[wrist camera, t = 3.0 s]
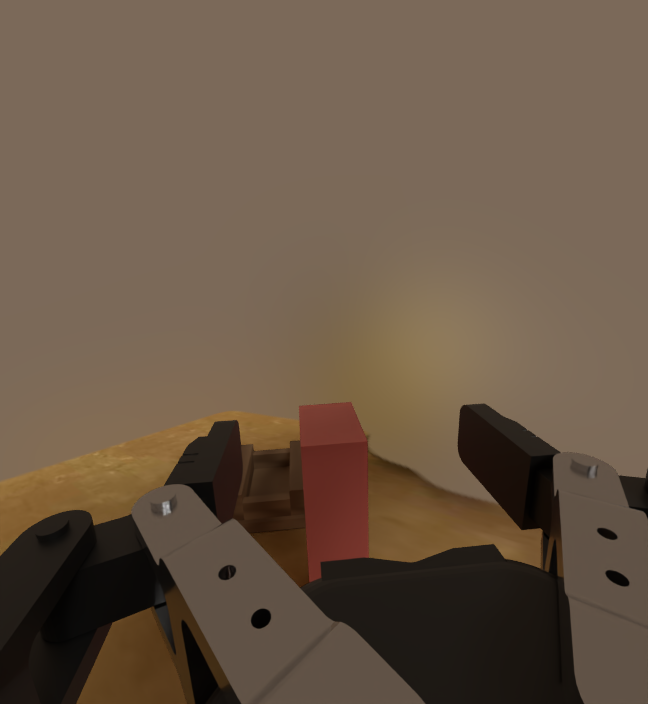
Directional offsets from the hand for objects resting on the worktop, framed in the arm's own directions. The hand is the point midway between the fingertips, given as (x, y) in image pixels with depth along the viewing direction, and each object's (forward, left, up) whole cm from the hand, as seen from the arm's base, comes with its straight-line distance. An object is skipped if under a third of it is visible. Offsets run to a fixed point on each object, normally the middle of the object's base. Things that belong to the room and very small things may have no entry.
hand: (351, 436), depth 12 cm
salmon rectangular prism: (0, -10, -20) cm, 23 cm away
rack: (+6, -24, -20) cm, 32 cm away
